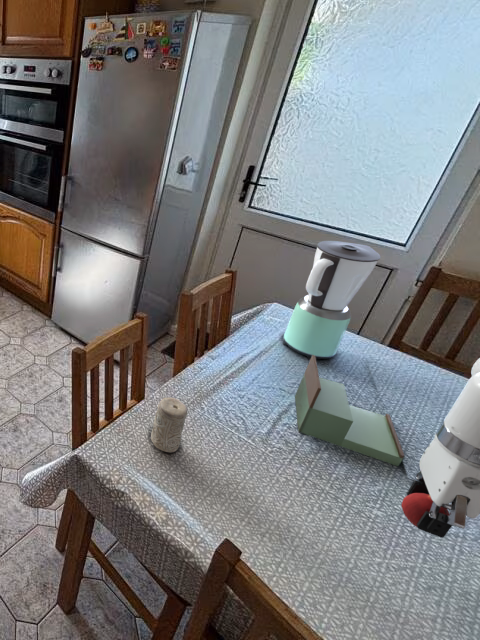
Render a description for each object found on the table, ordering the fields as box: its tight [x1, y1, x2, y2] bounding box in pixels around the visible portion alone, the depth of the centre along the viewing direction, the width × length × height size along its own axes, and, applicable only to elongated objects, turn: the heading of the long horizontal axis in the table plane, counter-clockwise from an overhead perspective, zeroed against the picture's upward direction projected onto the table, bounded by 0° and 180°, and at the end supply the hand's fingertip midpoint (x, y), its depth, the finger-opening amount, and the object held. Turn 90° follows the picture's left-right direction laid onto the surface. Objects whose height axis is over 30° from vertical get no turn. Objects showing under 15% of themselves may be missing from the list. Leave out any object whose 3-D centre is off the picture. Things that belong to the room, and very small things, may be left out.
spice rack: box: [294, 355, 405, 467], centre depth 98 cm, size 18×14×14 cm
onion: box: [401, 493, 450, 528], centre depth 72 cm, size 6×6×8 cm
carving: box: [150, 396, 188, 453], centre depth 95 cm, size 6×8×12 cm
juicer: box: [282, 240, 381, 361], centre depth 121 cm, size 19×13×35 cm
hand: (423, 514), depth 73 cm, fingers closed on onion, 5 cm apart
